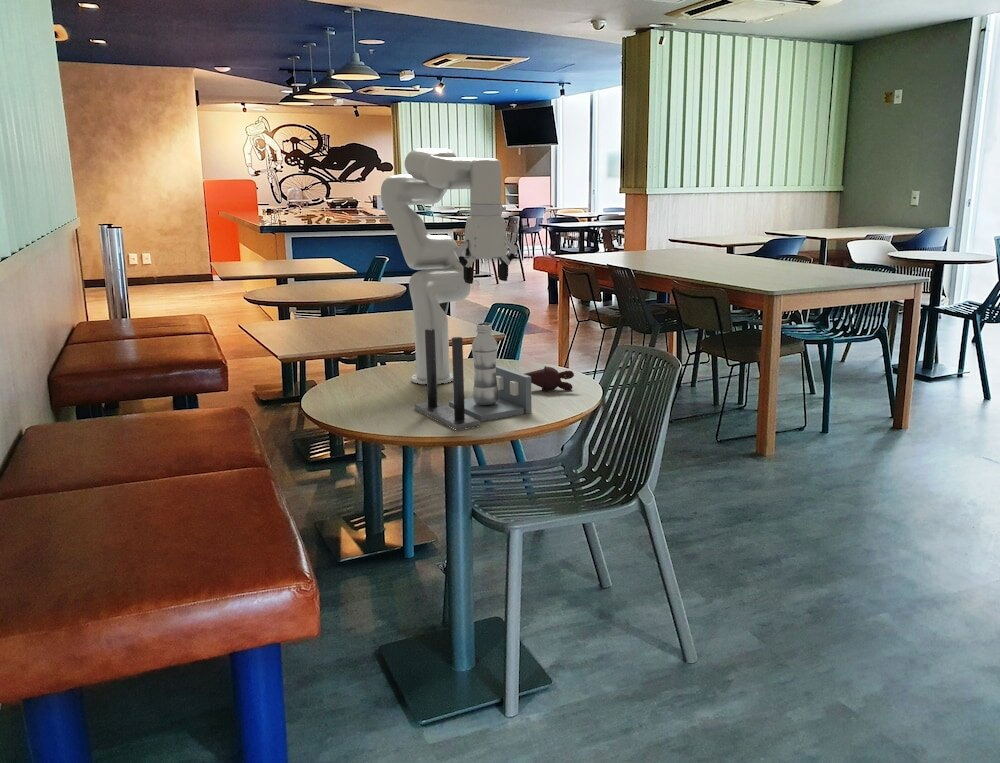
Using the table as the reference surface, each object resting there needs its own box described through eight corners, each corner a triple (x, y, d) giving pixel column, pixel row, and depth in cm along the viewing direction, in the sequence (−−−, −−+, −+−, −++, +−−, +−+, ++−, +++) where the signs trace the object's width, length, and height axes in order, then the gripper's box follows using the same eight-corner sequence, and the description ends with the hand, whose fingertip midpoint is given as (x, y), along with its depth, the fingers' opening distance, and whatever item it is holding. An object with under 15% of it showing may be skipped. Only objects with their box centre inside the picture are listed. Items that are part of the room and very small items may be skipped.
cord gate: (414, 409, 199) (411, 328, 194) (436, 406, 202) (433, 326, 197) (456, 431, 181) (453, 342, 176) (479, 426, 184) (477, 339, 179)
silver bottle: (501, 401, 199) (500, 322, 194) (495, 408, 192) (494, 326, 188) (476, 400, 200) (474, 321, 195) (469, 407, 194) (467, 326, 189)
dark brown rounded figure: (517, 370, 211) (573, 376, 209) (520, 358, 217) (575, 363, 216) (515, 393, 214) (571, 399, 213) (518, 380, 221) (573, 385, 219)
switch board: (449, 407, 200) (447, 372, 198) (497, 399, 207) (497, 365, 205) (480, 421, 187) (479, 384, 185) (531, 412, 194) (531, 376, 192)
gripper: (509, 209, 201) (508, 277, 205) (447, 211, 193) (448, 282, 197) (524, 211, 194) (523, 281, 199) (460, 213, 186) (461, 286, 191)
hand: (486, 281), depth 198 cm, fingers open, 9 cm apart
